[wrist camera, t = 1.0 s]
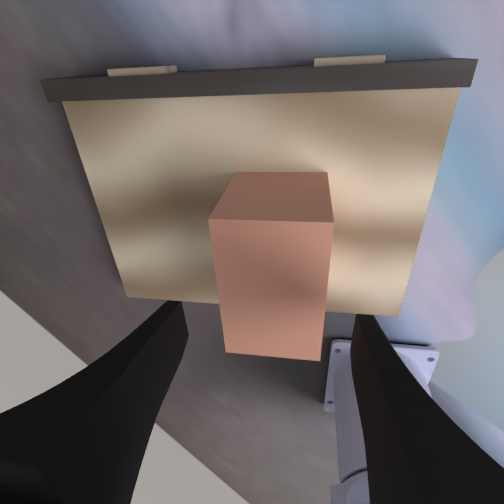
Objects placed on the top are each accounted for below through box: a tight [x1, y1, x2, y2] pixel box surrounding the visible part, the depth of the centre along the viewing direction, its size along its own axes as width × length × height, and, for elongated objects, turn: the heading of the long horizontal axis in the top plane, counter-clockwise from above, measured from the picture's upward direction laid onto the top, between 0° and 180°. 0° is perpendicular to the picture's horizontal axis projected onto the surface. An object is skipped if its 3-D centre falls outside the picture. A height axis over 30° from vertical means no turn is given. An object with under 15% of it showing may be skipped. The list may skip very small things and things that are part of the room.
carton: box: [208, 172, 334, 361], centre depth 17 cm, size 5×8×6 cm, turn 3°
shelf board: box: [41, 55, 478, 316], centre depth 19 cm, size 15×20×2 cm
